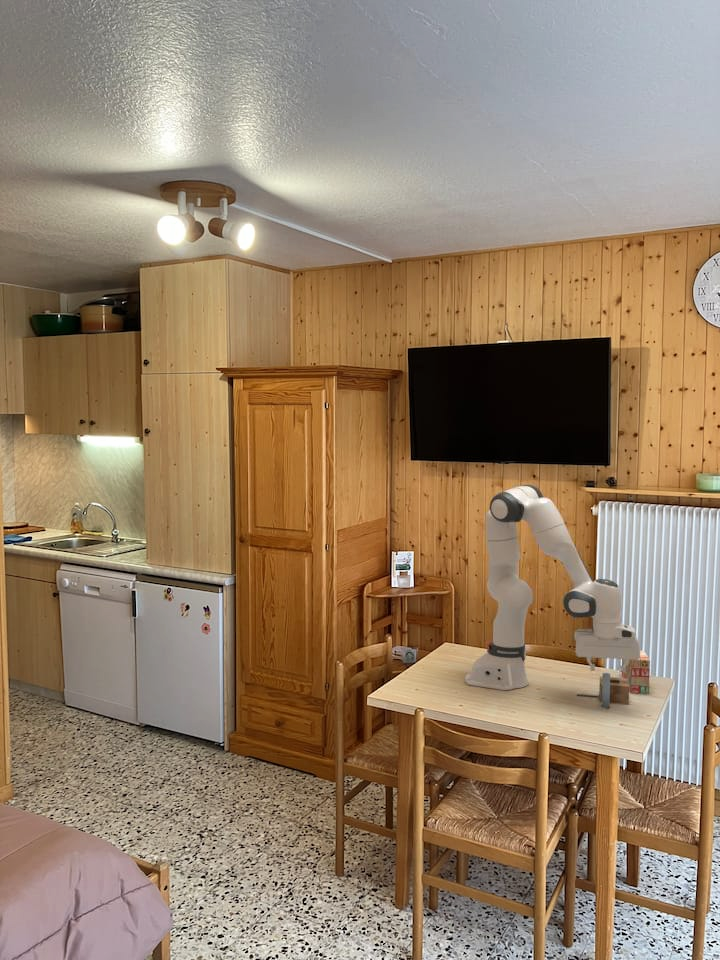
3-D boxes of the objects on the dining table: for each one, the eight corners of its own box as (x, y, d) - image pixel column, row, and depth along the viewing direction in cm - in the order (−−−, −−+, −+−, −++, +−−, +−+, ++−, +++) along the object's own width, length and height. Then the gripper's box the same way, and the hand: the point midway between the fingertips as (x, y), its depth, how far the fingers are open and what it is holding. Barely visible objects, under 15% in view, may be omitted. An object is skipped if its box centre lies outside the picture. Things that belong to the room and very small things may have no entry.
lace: (577, 695, 267) (577, 694, 267) (577, 695, 268) (577, 693, 268) (598, 697, 265) (598, 696, 265) (598, 697, 266) (598, 695, 266)
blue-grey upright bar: (601, 707, 256) (602, 674, 255) (601, 705, 258) (602, 672, 257) (609, 708, 255) (610, 675, 254) (609, 706, 257) (610, 673, 257)
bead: (600, 701, 261) (600, 684, 261) (599, 693, 270) (599, 676, 270) (628, 704, 259) (629, 686, 259) (626, 695, 268) (627, 678, 267)
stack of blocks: (621, 675, 291) (621, 642, 291) (638, 676, 290) (639, 643, 289) (630, 693, 270) (631, 658, 270) (649, 694, 269) (650, 659, 268)
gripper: (574, 630, 254) (574, 672, 255) (640, 633, 249) (640, 675, 250) (574, 625, 260) (574, 666, 261) (639, 628, 255) (639, 669, 256)
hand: (607, 670), depth 255 cm, fingers open, 8 cm apart
